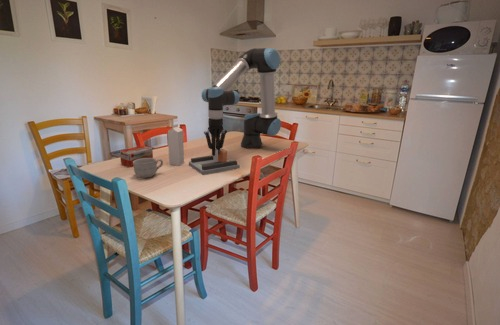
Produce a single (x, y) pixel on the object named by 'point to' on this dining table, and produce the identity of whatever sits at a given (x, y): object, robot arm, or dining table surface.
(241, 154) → the dining table surface
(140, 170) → the teacup
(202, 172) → the panel
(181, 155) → the milk
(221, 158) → the orange rectangular block
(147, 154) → the medicine box
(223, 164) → the set of dark strips
